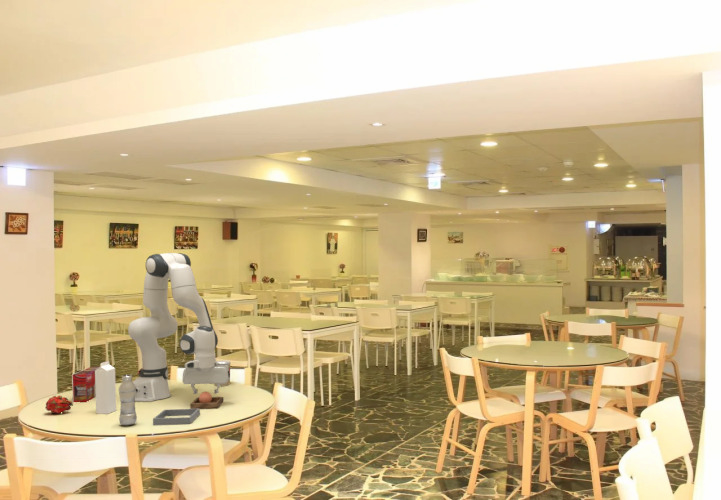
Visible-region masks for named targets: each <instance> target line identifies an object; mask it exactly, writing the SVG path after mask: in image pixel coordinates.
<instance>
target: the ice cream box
mask: <svg viewBox="0 0 721 500" xmlns="http://www.w3.org/2000/svg"><path fill="white" fill-rule="evenodd" d="M99 367H100V366H89V367H87V368H84V369H82V370H80V371H78V372H77V371H76V372H75V373H73V374H71V385H72V403H73V402H80V403H88V402H90V401H91V400H93V399H96V390H95V370H96V369H98V368H99ZM89 400H90V401H89ZM87 401H88V402H87Z"/></svg>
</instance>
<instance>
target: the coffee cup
mask: <svg viewBox="0 0 721 500" xmlns="http://www.w3.org/2000/svg"><path fill="white" fill-rule="evenodd" d="M215 361H216V363H223V362H224V363H226V364H228V366H229V371H228V376H229V380H228V382H227V383H224V384H221V386H220V387H227V386H230V383H231V361H230V360H215ZM226 364H225V365H226ZM213 385H214V386H215V387H218V386H217V384H213ZM220 387H219V388H220Z"/></svg>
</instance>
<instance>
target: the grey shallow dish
mask: <svg viewBox="0 0 721 500" xmlns="http://www.w3.org/2000/svg"><path fill="white" fill-rule="evenodd" d="M200 410H201V409H190V408H177V409H176V408H175V409H174V408H173V409H171V408H170V409H163V410H162V411H161V412H160V413H158V414H157V415H156V416H154V417H153V418H152V425H153V426H167V425H168V426H169V425H191V424H192V423H193V422H194V421H195V420H196V419H197V418H198V417H199V416H200V415H201V413H200V412H201V411H200ZM170 416H171V417H170ZM173 416H176V417H173ZM178 416H180V417H178ZM181 416H182V417H181ZM185 416H188V417H185Z"/></svg>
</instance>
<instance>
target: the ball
mask: <svg viewBox="0 0 721 500" xmlns="http://www.w3.org/2000/svg"><path fill="white" fill-rule="evenodd" d="M212 396H213V395H212V394H211V393H210V392H209V391H203V392H201V393H200V395H199V396H198V398H199V401H200V402H201V403H210V402H211V400H212Z"/></svg>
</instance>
